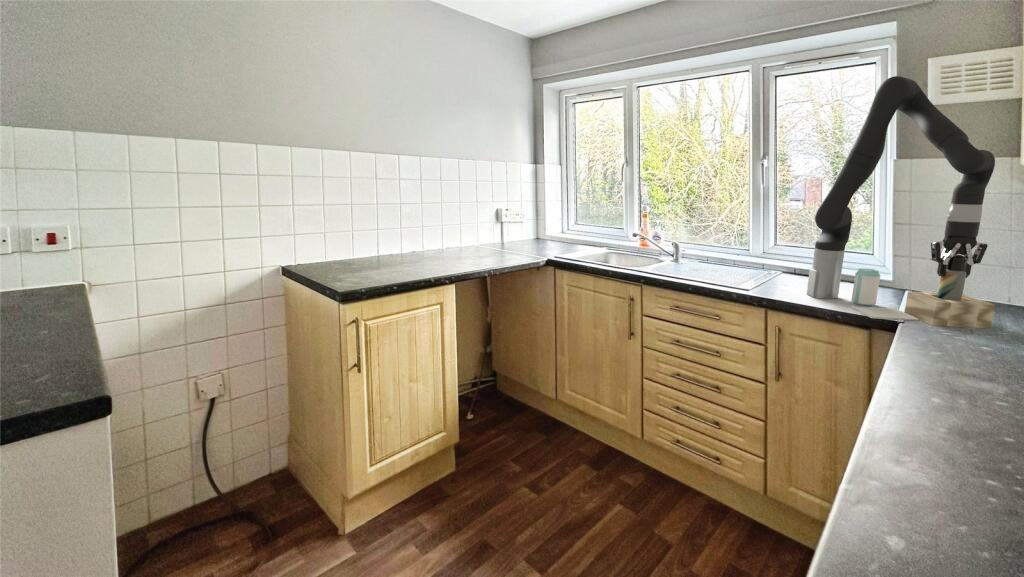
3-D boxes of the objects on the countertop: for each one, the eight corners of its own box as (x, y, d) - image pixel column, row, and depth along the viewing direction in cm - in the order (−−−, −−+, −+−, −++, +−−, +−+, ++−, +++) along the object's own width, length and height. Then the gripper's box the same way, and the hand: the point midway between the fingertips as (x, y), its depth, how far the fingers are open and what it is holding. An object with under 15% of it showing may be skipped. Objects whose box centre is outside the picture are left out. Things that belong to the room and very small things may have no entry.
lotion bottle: (952, 318, 162) (964, 254, 158) (960, 323, 156) (973, 256, 152) (930, 316, 164) (941, 253, 159) (937, 321, 158) (950, 255, 154)
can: (861, 301, 184) (866, 267, 182) (880, 305, 178) (886, 270, 175) (846, 302, 182) (851, 268, 180) (865, 307, 175) (870, 271, 173)
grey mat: (871, 318, 161) (871, 316, 161) (852, 308, 174) (852, 306, 174) (918, 320, 159) (919, 319, 159) (895, 310, 172) (896, 308, 171)
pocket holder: (932, 325, 154) (936, 302, 153) (904, 312, 168) (907, 291, 167) (990, 328, 151) (995, 304, 150) (956, 315, 166) (961, 293, 164)
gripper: (944, 220, 151) (933, 278, 155) (1000, 221, 149) (988, 280, 152) (928, 218, 159) (918, 273, 162) (982, 219, 156) (971, 275, 160)
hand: (952, 276), depth 157 cm, fingers closed on lotion bottle, 5 cm apart
